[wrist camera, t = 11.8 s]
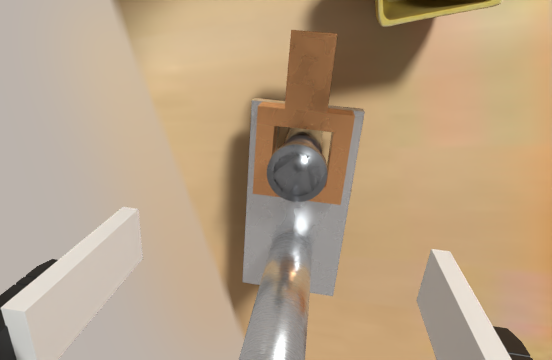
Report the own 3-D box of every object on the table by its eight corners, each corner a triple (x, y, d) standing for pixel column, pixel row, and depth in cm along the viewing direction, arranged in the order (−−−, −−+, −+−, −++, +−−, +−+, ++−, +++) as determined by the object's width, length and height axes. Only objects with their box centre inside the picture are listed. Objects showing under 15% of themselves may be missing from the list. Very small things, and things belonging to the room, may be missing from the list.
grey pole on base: (332, 257, 45) (336, 465, 23) (255, 246, 46) (188, 435, 24) (367, 38, 35) (434, 31, 13) (269, 30, 36) (178, 11, 14)
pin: (284, 148, 41) (264, 198, 28) (287, 108, 39) (268, 141, 26) (324, 152, 40) (323, 205, 27) (329, 112, 38) (331, 148, 26)
